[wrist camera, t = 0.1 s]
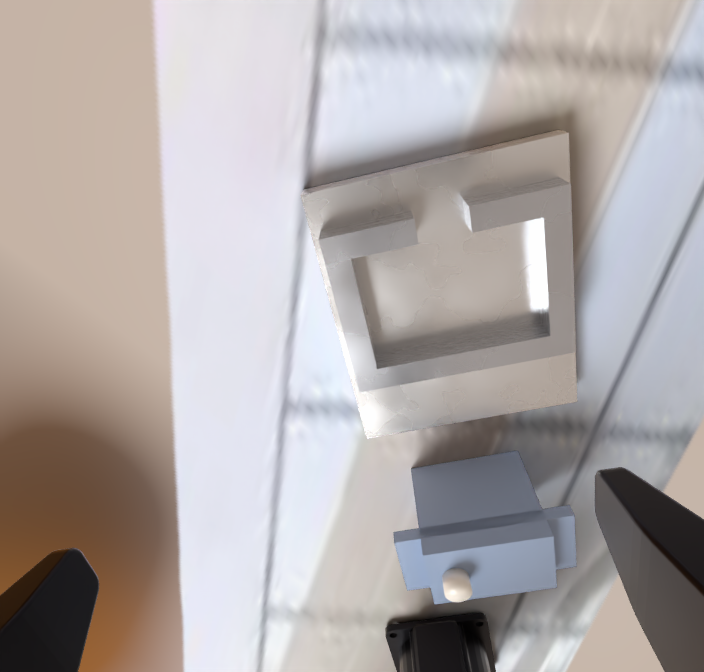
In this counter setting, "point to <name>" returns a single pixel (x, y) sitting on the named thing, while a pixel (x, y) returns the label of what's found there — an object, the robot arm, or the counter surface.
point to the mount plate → (453, 283)
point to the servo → (483, 531)
